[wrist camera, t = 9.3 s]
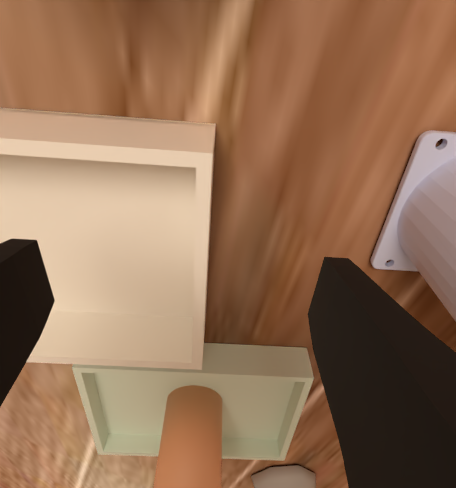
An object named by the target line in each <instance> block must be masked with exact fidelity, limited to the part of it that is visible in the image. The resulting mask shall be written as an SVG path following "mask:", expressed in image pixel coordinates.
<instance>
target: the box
mask: <svg viewBox="0 0 456 488" xmlns="http://www.w3.org/2000/svg"><path fill="white" fill-rule="evenodd" d="M215 131H216V124H212V123H199V122H186V121H173V120H159V119H146V118H133V117H119V116H106V115H93V114H79V113H66V112H53V111H40V110H26V109H13V108H0V243H2V242H5V241H7V240H9V239H29V240H37V242H38V245H39V249H40V252H41V256H42V259H43V262H44V266H45V269H46V273H47V276H48V279H49V283H50V286H51V289H52V293H53V296H54V300H55V302H54V304H53V307H52V309H51V312H50V315H49V317H48V320H47V322H46V325H45V327H44V329H43V332H42V334H41V336H40V338H39V340H38V342H37V344H36V345H35V347H34V349H33V351H32V353H31V354H30V356H29V358H28V360H27V361H26V362H37V363H59V364H82V365H104V366H127V367H150V368H172V369H195V370H202V364H203V349H204V335H205V321H206V303H207V284H208V265H209V246H210V227H211V207H212V188H213V169H214V150H215Z"/></svg>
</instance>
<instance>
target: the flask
mask: <svg viewBox="0 0 456 488" xmlns="http://www.w3.org/2000/svg"><path fill="white" fill-rule="evenodd" d="M251 478H252V481H253V484H254V488H316V474H315V473H313V472H311V471H309V470H307V469H305V468H303V467H301V466H299V465H294V466H281V467H270V468H268V469H266V470H263V471H261V472H259V473H257V474H254V475H252V476H251Z"/></svg>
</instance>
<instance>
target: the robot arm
mask: <svg viewBox="0 0 456 488" xmlns="http://www.w3.org/2000/svg"><path fill="white" fill-rule="evenodd" d="M440 139H443V142H442V143H441V145H439V146H438V147H435V146H436V143H437V141H439V140H440ZM388 260H391V261H390V262H388V263H386V261H388ZM370 262H371V264H372V266H373V267H374V268H376V269H385V270H402V271H419V272H420V274H421V275H422V277H423V278H424V279H425V281H426V282H427V283H428V285H429V286H430V287H431V289H432V290H433V291H434V293H435V294H436V296H437V297H438V298H439V300H440V301H441V302H442V304H443V305H444V306H445V308H446V309H447V310H448V312H449V313H450V315H451V316H452V317H453V319H454V320H455V321H456V132H446V131H433V130H431V131H426V132H424V133H422V134H421V135H420V136H419V138H418V139H417V142H416V144H415V147H414V149H413V152H412V154H411V157H410V159H409V162H408V165H407V167H406V170H405V172H404V175H403V177H402V180H401V183H400V185H399V188H398V190H397V193H396V195H395V198H394V201H393V203H392V206H391V208H390V211H389V213H388V216H387V218H386V221H385V224H384V226H383V229H382V231H381V234H380V236H379V239H378V242H377V244H376V247H375V249H374V252H373V254H372V257H371V261H370ZM54 302H55V300H54V296H53V293H52V289H51V286H50V283H49V279H48V276H47V273H46V269H45V266H44V262H43V259H42V256H41V252H40V249H39V245H38V242H37V240H29V239H9V240H7V241H5V242H2V243H0V406H1V405H2V403H3V401H4V399H5V398H6V396H7V394H8V392H9V391H10V389H11V387H12V386H13V384H14V382H15V380H16V379H17V377H18V375H19V373H20V372H21V370H22V368H23V367H24V365H25V363H26V361H27V360H28V358H29V356H30V354H31V353H32V351H33V349H34V347H35V345H36V344H37V342H38V340H39V338H40V336H41V334H42V332H43V329H44V327H45V325H46V322H47V320H48V317H49V315H50V312H51V309H52V307H53V304H54ZM308 318H309V325H310V333H311V339H312V345H313V350H314V354H315V358H316V361H317V365H318V368H319V372H320V376H321V379H322V383H323V386H324V390H325V393H326V396H327V400H328V403H329V407H330V410H331V414H332V417H333V421H334V424H335V428H336V431H337V435H338V438H339V443H340V447H341V451H342V455H343V459H344V465H345V470H346V475H347V480H348V486H349V488H456V353H455V352H454V351H453V350H452V349H450V348H449V347H448V346H447V345H446V344H444V343H443V342H442V341H441V340H439V339H438V338H437V337H436V336H435V335H433V334H432V333H431V332H430V331H429V330H427V329H426V328H425V327H424V326H423V325H422V324H420V323H419V322H418V321H417V320H416V319H415V318H413V317H412V316H411V315H410V314H409V313H408V312H407V311H406V310H404V309H403V308H402V307H401V306H400V305H399V304H398V303H397V302H396V301H394V300H393V299H392V298H391V297H390V296H389V295H388V294H387V293H386V292H385V291H384V290H382V289H381V288H380V287H379V286H378V285H377V284H376V283H375V282H374V281H373V280H372V279H371V278H370V277H368V276H367V275H366V274H365V273H364V272H363V271H362V270H361V269H360V268H359V267H358V266H356V265H355V264H354V263H353V262H352V261H351V260H349V259H348V258H332V257H324V261H323V264H322V267H321V271H320V274H319V278H318V281H317V284H316V288H315V291H314V295H313V298H312V302H311V305H310V308H309V312H308Z"/></svg>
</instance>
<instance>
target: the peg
mask: <svg viewBox="0 0 456 488" xmlns="http://www.w3.org/2000/svg"><path fill="white" fill-rule="evenodd" d="M221 473H222V398H221V396H220V395H219V394H218V393H217V392H216V391H214V390H212V389H210V388H207V387H204V386H197V385H190V386H183V387H180V388H177V389H175V390H173V391H172V392H171V393H170V394H169V395H168V398H167V403H166V410H165V416H164V422H163V429H162V435H161V442H160V448H159V455H158V461H157V467H156V474H155V480H154V487H153V488H221Z"/></svg>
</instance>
